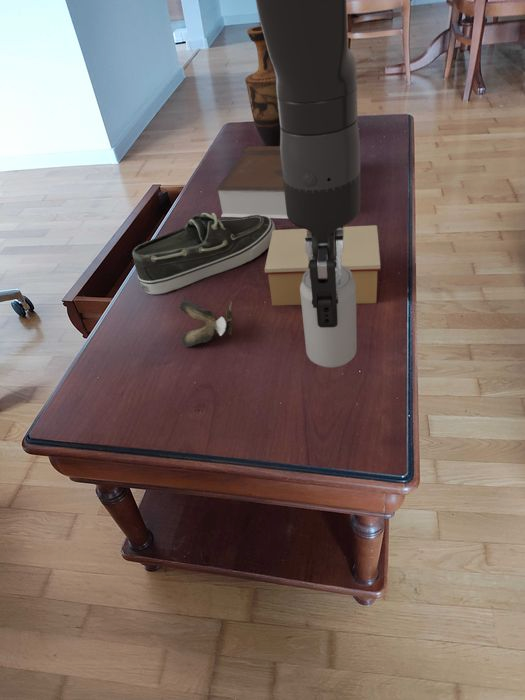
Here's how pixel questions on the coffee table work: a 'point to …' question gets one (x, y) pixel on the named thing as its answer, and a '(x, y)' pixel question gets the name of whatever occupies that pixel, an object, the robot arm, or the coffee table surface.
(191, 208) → the coffee table surface
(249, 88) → the vase
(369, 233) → the lidded cardboard box
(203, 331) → the eagle figurine
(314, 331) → the beverage can
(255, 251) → the boat shoe
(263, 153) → the book
